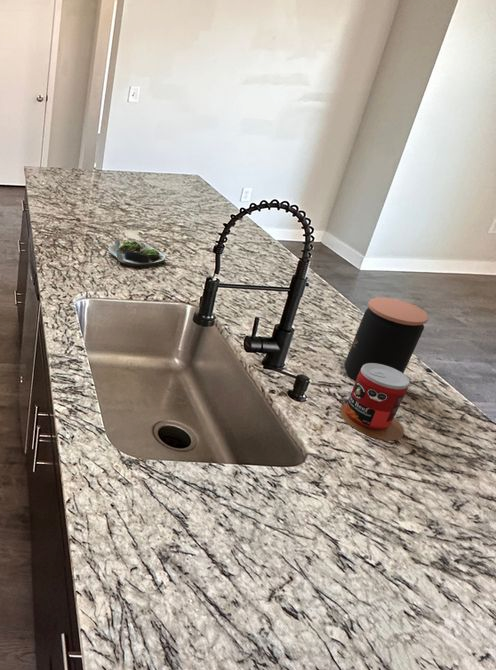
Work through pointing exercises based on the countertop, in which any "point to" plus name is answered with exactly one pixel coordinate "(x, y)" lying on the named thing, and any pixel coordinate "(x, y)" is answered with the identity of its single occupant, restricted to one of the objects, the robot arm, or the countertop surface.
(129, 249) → the salad plate
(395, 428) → the cork coaster
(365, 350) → the coffee jar
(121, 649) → the countertop surface
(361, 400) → the canned food
